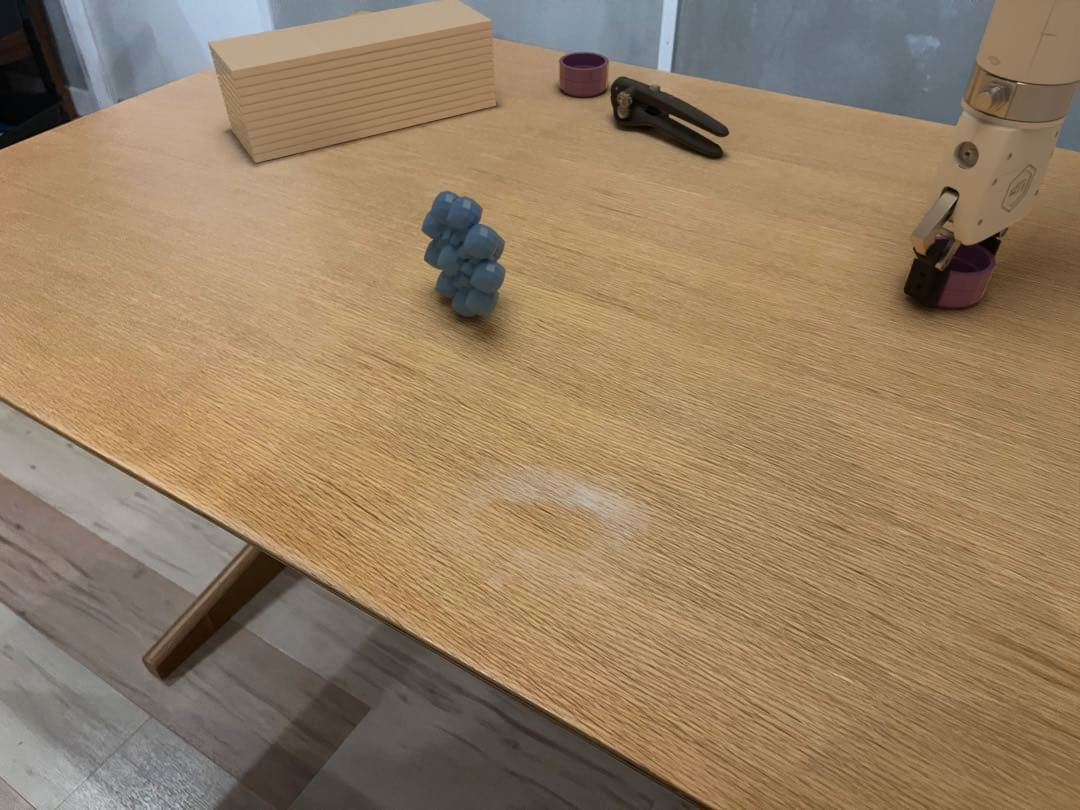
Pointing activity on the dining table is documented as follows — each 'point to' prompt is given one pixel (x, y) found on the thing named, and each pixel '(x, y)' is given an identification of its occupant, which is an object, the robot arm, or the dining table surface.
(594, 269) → the dining table surface
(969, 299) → the plum dish
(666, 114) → the can opener
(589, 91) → the plum dish
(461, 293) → the grapes
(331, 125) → the tan ribbed wooden block
